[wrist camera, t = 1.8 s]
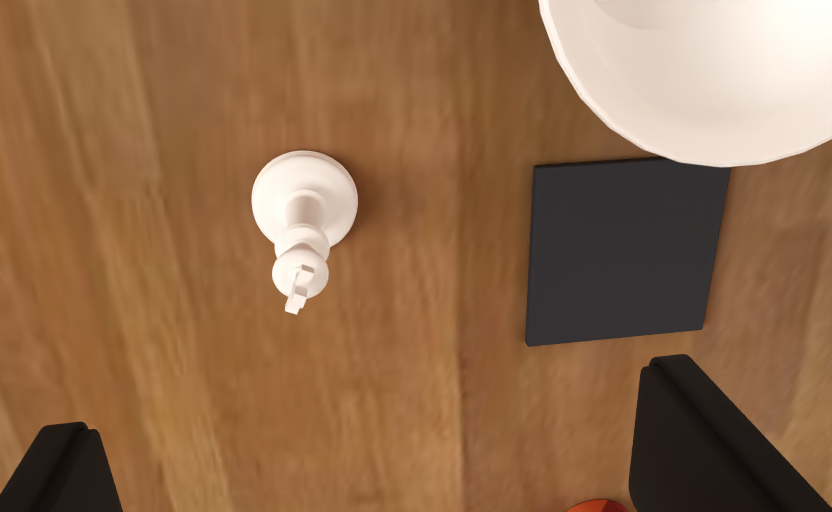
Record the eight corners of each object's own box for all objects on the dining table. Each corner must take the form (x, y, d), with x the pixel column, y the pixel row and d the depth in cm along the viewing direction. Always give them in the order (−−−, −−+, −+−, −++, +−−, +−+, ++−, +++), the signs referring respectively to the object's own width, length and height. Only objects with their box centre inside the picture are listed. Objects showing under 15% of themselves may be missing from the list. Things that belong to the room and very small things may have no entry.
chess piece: (373, 173, 31) (395, 261, 22) (335, 262, 32) (341, 379, 23) (272, 133, 29) (249, 211, 20) (237, 229, 31) (203, 339, 22)
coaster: (524, 342, 36) (527, 347, 35) (533, 165, 32) (536, 168, 31) (698, 325, 37) (702, 330, 36) (727, 152, 33) (733, 155, 32)
